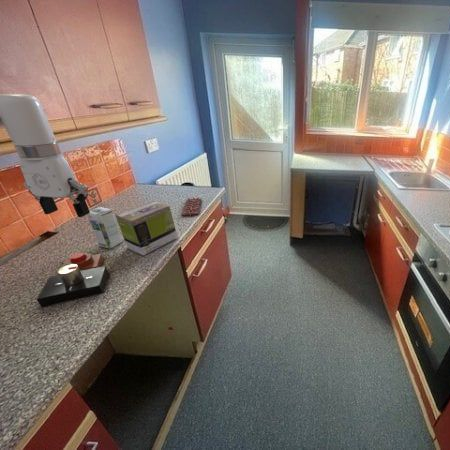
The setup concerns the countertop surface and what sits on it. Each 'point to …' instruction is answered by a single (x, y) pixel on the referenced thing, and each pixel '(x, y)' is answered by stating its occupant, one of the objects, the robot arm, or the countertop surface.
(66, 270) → the hob knob
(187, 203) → the chocolate bar
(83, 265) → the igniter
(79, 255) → the button
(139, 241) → the tea box
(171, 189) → the countertop surface
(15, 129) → the robot arm
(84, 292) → the panel
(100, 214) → the syrup box
